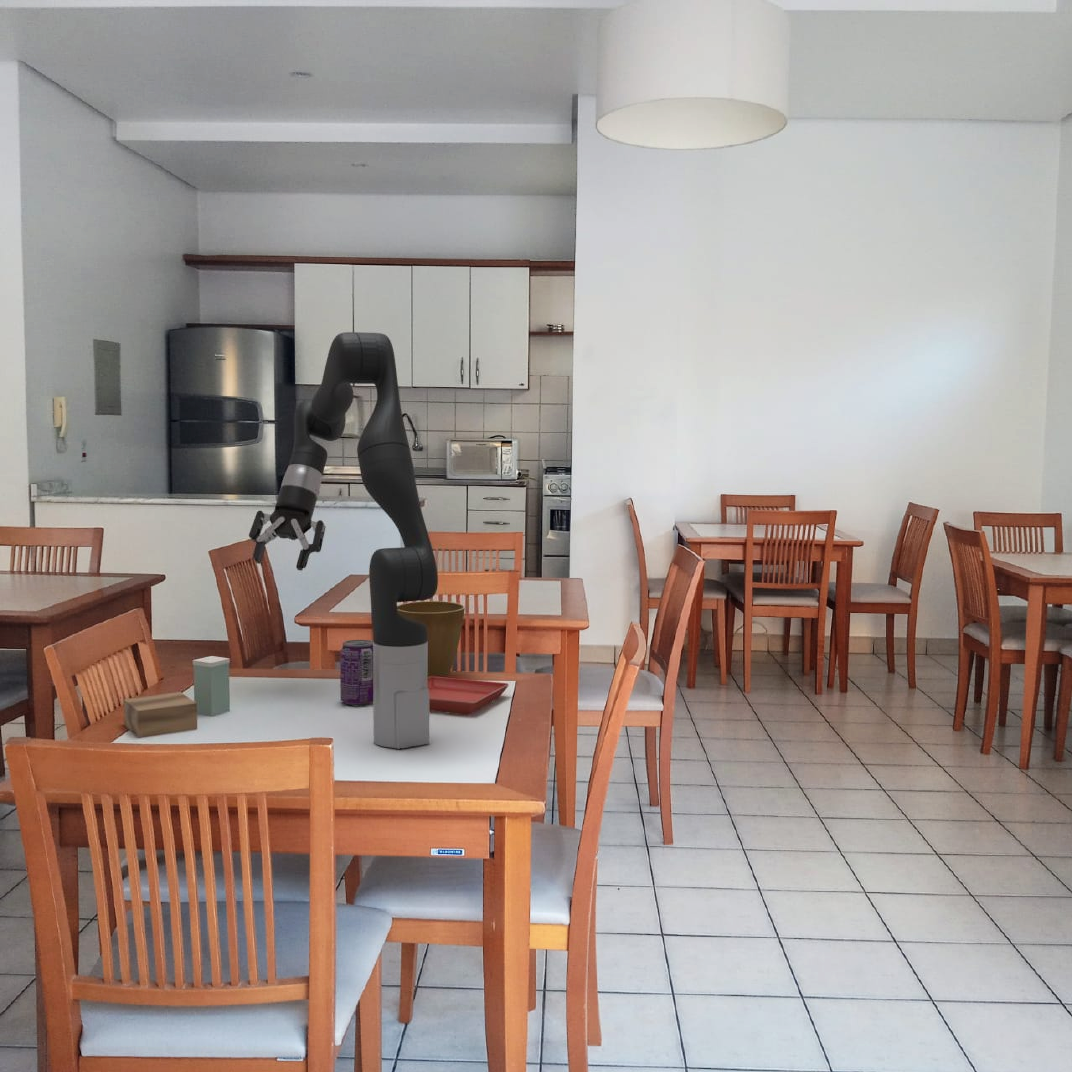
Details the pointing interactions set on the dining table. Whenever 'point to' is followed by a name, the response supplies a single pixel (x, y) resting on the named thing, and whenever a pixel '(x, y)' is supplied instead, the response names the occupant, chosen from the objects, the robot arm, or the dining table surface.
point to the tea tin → (211, 685)
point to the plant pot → (438, 631)
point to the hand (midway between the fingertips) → (278, 565)
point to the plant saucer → (462, 694)
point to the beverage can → (356, 672)
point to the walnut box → (160, 714)
